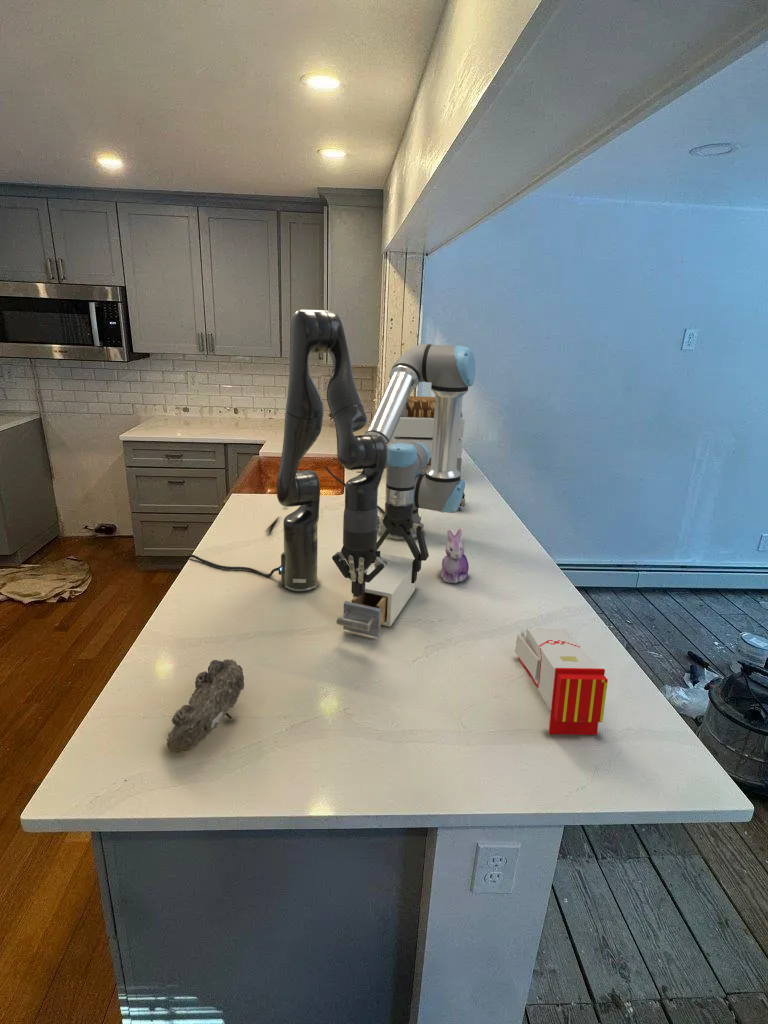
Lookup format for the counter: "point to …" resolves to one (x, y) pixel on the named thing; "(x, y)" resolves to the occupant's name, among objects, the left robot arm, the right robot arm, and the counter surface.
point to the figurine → (454, 559)
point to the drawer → (364, 614)
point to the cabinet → (392, 584)
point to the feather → (272, 525)
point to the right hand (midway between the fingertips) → (395, 577)
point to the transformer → (421, 425)
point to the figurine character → (462, 502)
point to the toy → (564, 680)
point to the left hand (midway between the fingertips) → (358, 595)
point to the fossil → (206, 705)
